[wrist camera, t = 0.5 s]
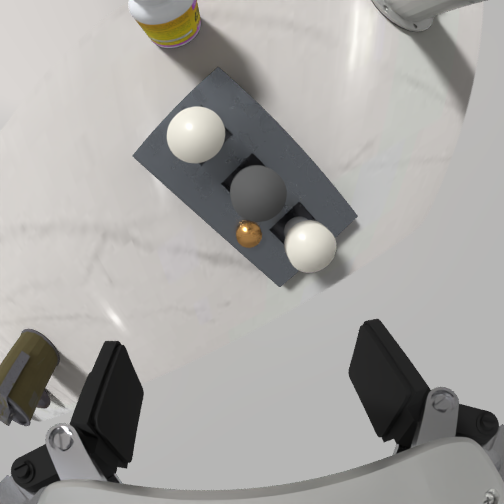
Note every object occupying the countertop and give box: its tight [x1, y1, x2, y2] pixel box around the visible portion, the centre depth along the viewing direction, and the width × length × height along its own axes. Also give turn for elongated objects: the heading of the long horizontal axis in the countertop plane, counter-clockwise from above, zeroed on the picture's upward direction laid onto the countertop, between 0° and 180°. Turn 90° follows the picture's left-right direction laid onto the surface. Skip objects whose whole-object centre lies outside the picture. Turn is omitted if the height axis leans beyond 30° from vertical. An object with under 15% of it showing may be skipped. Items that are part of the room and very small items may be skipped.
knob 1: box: [167, 107, 225, 163], centre depth 25 cm, size 5×5×6 cm
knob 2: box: [284, 216, 336, 273], centre depth 31 cm, size 5×5×6 cm
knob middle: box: [230, 165, 287, 222], centre depth 28 cm, size 5×5×6 cm
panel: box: [133, 67, 358, 287], centre depth 32 cm, size 25×14×4 cm, turn 44°
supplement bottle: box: [128, 0, 201, 48], centre depth 19 cm, size 7×7×13 cm
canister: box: [0, 329, 60, 426], centre depth 33 cm, size 11×10×20 cm
